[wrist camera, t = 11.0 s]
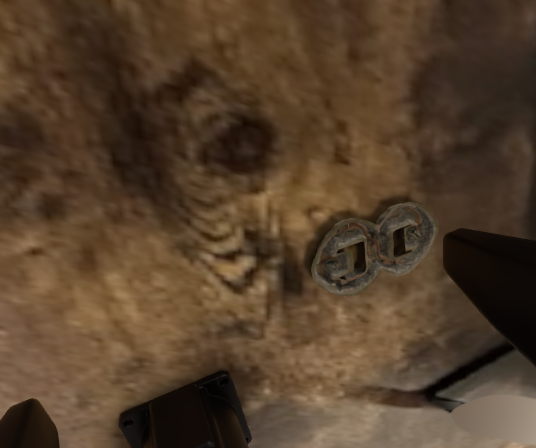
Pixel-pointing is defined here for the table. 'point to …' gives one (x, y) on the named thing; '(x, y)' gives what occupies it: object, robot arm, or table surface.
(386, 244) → the corroded twin loop
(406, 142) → the table surface
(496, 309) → the robot arm
